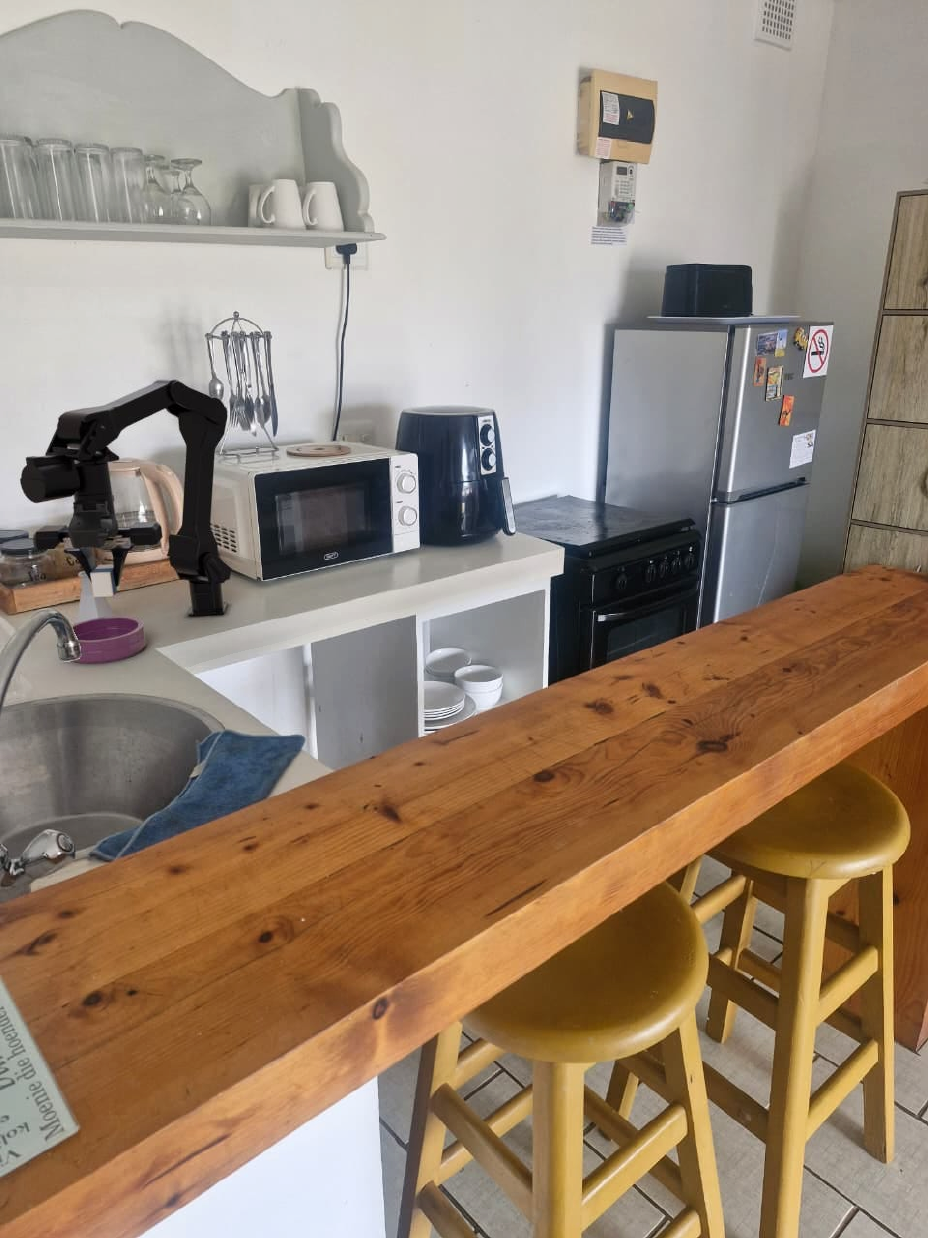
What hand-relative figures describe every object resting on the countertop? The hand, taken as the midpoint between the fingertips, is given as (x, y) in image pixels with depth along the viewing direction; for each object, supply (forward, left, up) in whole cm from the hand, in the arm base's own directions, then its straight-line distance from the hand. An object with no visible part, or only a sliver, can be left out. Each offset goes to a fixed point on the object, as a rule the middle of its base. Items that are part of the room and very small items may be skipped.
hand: (106, 586), depth 143 cm
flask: (-12, -6, -11) cm, 17 cm away
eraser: (0, 0, -1) cm, 1 cm away
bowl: (+2, -1, -11) cm, 11 cm away
